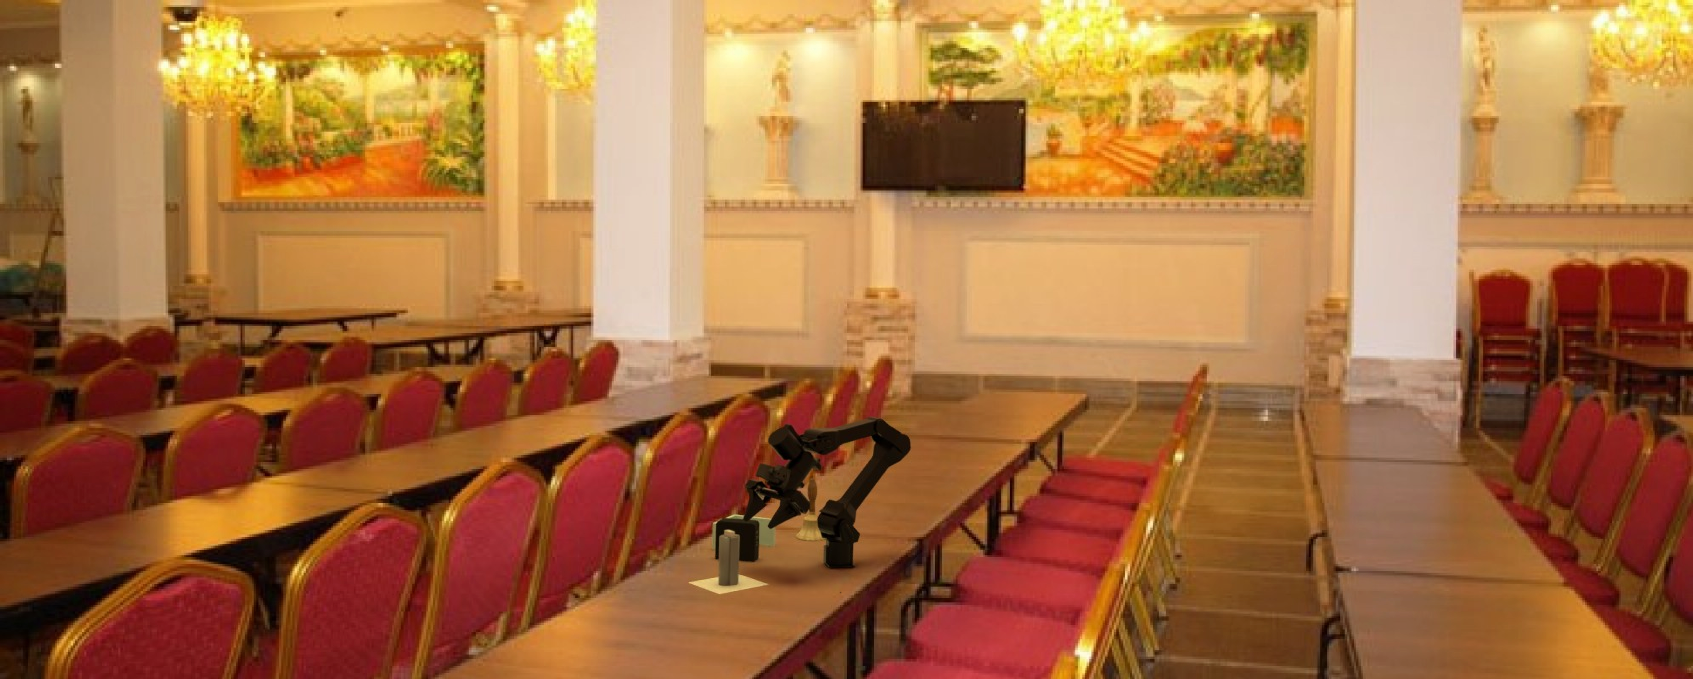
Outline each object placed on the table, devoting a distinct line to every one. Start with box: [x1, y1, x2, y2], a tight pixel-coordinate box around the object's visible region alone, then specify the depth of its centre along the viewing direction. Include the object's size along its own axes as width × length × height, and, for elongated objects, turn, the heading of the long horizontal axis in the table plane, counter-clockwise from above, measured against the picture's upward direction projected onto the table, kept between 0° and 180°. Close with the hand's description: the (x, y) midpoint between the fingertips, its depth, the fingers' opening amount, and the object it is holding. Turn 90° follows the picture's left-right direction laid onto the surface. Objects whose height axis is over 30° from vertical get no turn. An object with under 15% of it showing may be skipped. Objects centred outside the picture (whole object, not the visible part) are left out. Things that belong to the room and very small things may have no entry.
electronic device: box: [714, 517, 760, 563], centre depth 332 cm, size 4×10×10 cm, turn 78°
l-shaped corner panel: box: [711, 514, 776, 551], centre depth 345 cm, size 12×12×8 cm
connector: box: [717, 530, 740, 586], centre depth 308 cm, size 5×4×12 cm
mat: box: [688, 573, 770, 595], centre depth 308 cm, size 14×12×1 cm
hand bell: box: [795, 477, 826, 542], centre depth 359 cm, size 8×8×16 cm
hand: (756, 524), depth 312 cm, fingers open, 9 cm apart
